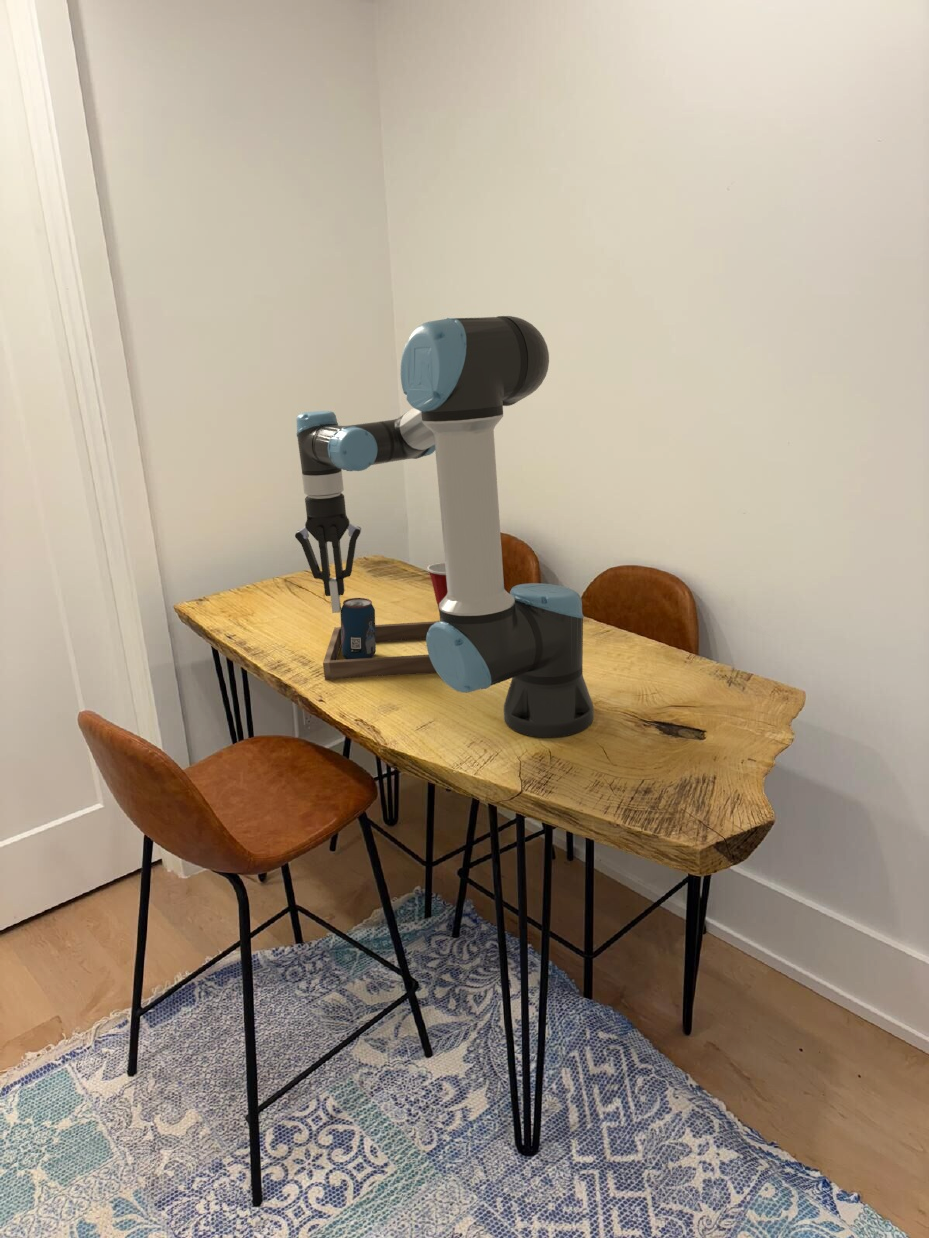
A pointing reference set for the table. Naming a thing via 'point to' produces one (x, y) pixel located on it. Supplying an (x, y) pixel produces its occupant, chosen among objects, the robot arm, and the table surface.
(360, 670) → the walnut tray frame
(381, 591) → the table surface
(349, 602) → the soda can
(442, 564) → the plastic cup
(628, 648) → the table surface
